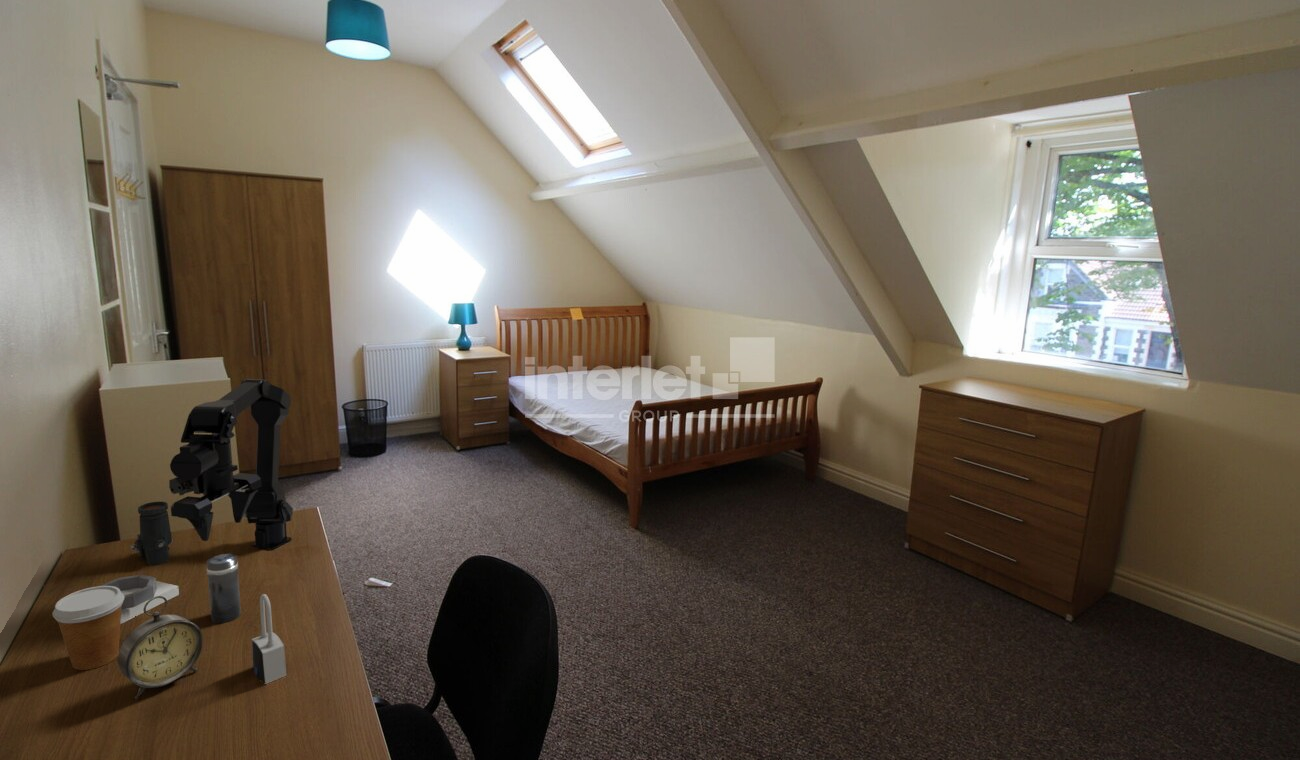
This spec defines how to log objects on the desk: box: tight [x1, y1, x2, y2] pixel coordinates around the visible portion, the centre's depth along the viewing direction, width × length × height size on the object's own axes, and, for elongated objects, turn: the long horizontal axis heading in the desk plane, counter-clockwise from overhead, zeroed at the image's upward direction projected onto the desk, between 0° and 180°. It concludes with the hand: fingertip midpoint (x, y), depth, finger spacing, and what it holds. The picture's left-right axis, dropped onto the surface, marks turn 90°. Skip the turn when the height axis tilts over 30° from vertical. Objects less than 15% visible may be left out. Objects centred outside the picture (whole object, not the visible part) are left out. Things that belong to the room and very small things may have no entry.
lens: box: [206, 553, 242, 624], centre depth 126 cm, size 5×5×13 cm
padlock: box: [251, 593, 287, 685], centre depth 110 cm, size 7×4×15 cm, turn 49°
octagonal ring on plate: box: [100, 574, 180, 625], centre depth 128 cm, size 14×10×4 cm
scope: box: [129, 501, 174, 566], centre depth 147 cm, size 8×14×10 cm
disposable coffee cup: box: [52, 585, 125, 671], centre depth 111 cm, size 10×10×12 cm
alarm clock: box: [117, 596, 204, 700], centre depth 106 cm, size 11×5×16 cm, turn 148°
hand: (222, 531), depth 136 cm, fingers open, 9 cm apart
